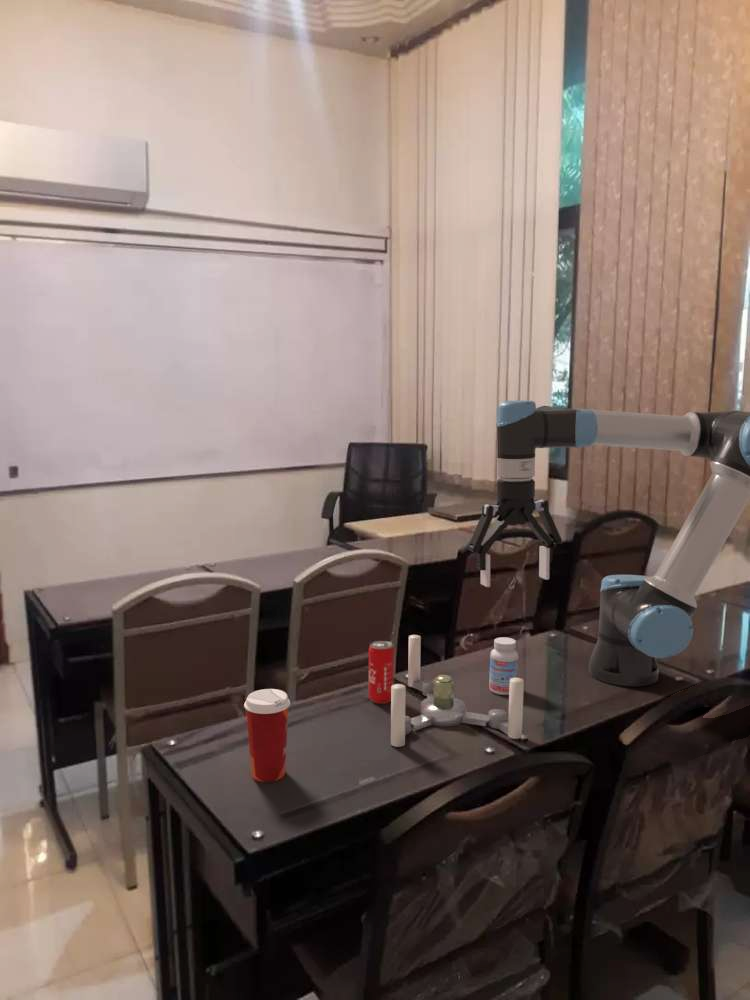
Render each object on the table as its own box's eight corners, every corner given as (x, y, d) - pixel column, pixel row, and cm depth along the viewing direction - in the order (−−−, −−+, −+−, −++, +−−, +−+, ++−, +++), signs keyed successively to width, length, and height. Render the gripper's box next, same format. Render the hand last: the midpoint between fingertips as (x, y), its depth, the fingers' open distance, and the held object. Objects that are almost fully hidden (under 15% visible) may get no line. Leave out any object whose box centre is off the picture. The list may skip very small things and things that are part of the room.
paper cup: (300, 773, 134) (299, 695, 132) (265, 790, 129) (264, 710, 126) (270, 758, 139) (269, 683, 137) (235, 774, 134) (233, 696, 131)
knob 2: (484, 722, 154) (486, 668, 152) (499, 719, 155) (501, 665, 153) (511, 740, 146) (513, 684, 144) (526, 737, 148) (528, 681, 146)
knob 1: (393, 725, 152) (393, 671, 150) (411, 727, 151) (412, 672, 150) (387, 746, 144) (387, 689, 142) (406, 748, 143) (407, 690, 141)
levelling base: (471, 696, 167) (472, 659, 165) (491, 726, 153) (493, 686, 151) (394, 700, 164) (394, 663, 163) (407, 731, 150) (407, 690, 149)
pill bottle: (486, 693, 168) (488, 643, 166) (491, 683, 174) (493, 634, 172) (515, 697, 166) (516, 646, 164) (519, 686, 172) (521, 637, 170)
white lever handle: (443, 694, 167) (444, 644, 165) (430, 698, 165) (431, 647, 163) (416, 681, 174) (416, 633, 172) (403, 685, 172) (404, 636, 170)
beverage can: (390, 705, 162) (391, 649, 160) (366, 703, 163) (366, 647, 161) (395, 695, 167) (395, 641, 165) (371, 693, 168) (371, 639, 166)
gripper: (467, 485, 149) (468, 593, 152) (580, 476, 157) (578, 579, 161) (451, 480, 156) (451, 583, 159) (559, 472, 164) (557, 570, 168)
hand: (515, 581), depth 160 cm, fingers open, 13 cm apart
